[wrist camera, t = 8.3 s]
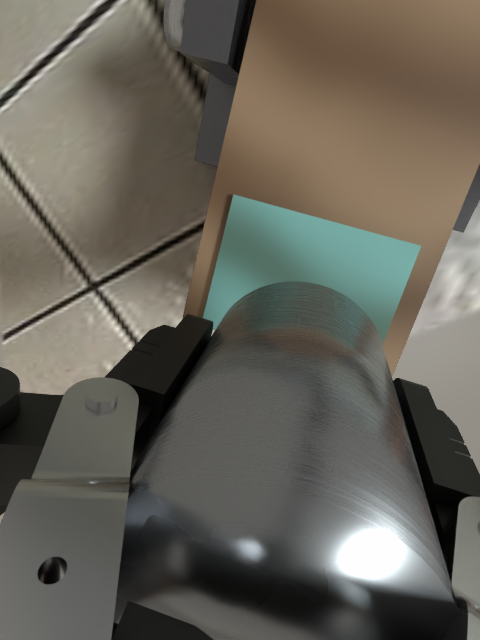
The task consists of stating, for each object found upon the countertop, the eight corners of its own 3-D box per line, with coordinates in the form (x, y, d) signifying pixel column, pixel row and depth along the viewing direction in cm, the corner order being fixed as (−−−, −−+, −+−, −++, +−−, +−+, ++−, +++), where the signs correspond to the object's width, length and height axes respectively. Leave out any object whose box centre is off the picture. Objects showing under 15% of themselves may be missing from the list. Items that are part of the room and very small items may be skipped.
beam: (356, -386, 13) (365, -481, 11) (668, -342, 12) (730, -437, 10) (191, 311, 20) (180, 319, 18) (383, 369, 19) (391, 383, 17)
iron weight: (232, 259, 10) (94, 425, 4) (414, 311, 10) (559, 582, 4) (200, 401, 13) (77, 648, 6) (347, 449, 12) (370, 762, 6)
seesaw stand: (238, -81, 20) (181, -235, 12) (576, -9, 19) (766, -129, 11) (197, 159, 25) (139, 163, 17) (460, 229, 24) (529, 269, 16)
